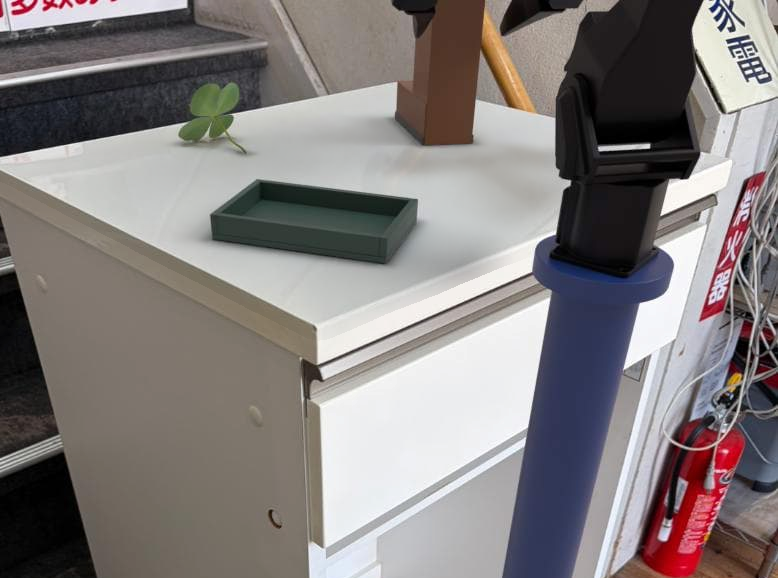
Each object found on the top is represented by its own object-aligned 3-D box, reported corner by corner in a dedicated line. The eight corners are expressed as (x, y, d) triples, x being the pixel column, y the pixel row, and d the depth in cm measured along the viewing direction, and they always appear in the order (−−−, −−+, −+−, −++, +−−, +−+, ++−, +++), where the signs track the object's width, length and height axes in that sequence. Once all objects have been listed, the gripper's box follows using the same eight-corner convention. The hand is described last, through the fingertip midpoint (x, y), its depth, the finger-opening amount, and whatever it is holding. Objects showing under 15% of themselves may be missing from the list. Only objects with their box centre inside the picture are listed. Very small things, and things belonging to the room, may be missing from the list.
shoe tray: (416, 222, 72) (418, 198, 70) (386, 264, 64) (387, 238, 63) (258, 202, 75) (256, 178, 73) (212, 239, 67) (209, 214, 66)
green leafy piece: (227, 196, 90) (193, 151, 91) (283, 145, 89) (248, 100, 89) (199, 169, 83) (163, 120, 84) (260, 113, 82) (222, 64, 82)
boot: (473, 143, 91) (488, -9, 82) (422, 145, 90) (432, -9, 81) (441, 116, 99) (451, -24, 90) (394, 118, 98) (400, -24, 89)
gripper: (603, -186, 71) (530, -43, 86) (393, -195, 66) (355, -44, 82) (627, -62, 70) (550, 59, 85) (417, -64, 66) (375, 64, 81)
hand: (459, 32), depth 83 cm, fingers open, 9 cm apart
